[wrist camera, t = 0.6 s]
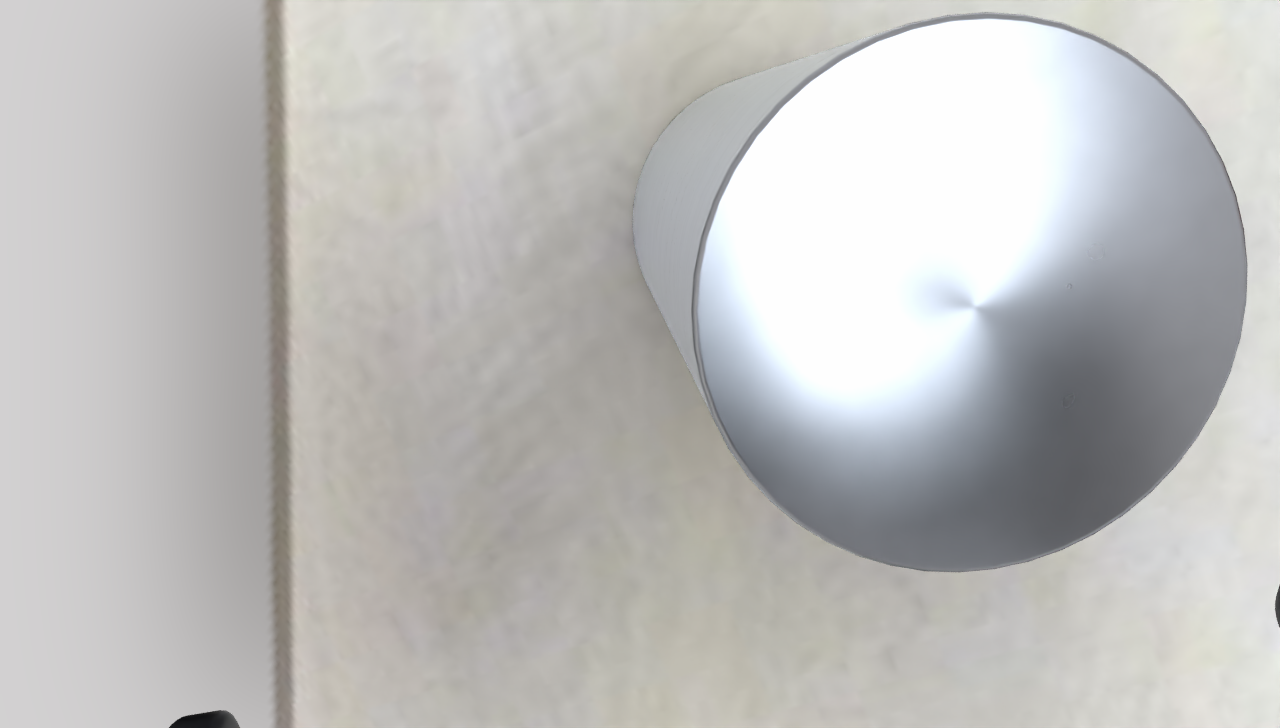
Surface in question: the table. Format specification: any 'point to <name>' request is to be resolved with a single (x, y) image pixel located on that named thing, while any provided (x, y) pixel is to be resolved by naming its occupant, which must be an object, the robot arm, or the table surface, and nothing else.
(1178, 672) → the table surface
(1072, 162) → the grey upright cylinder
